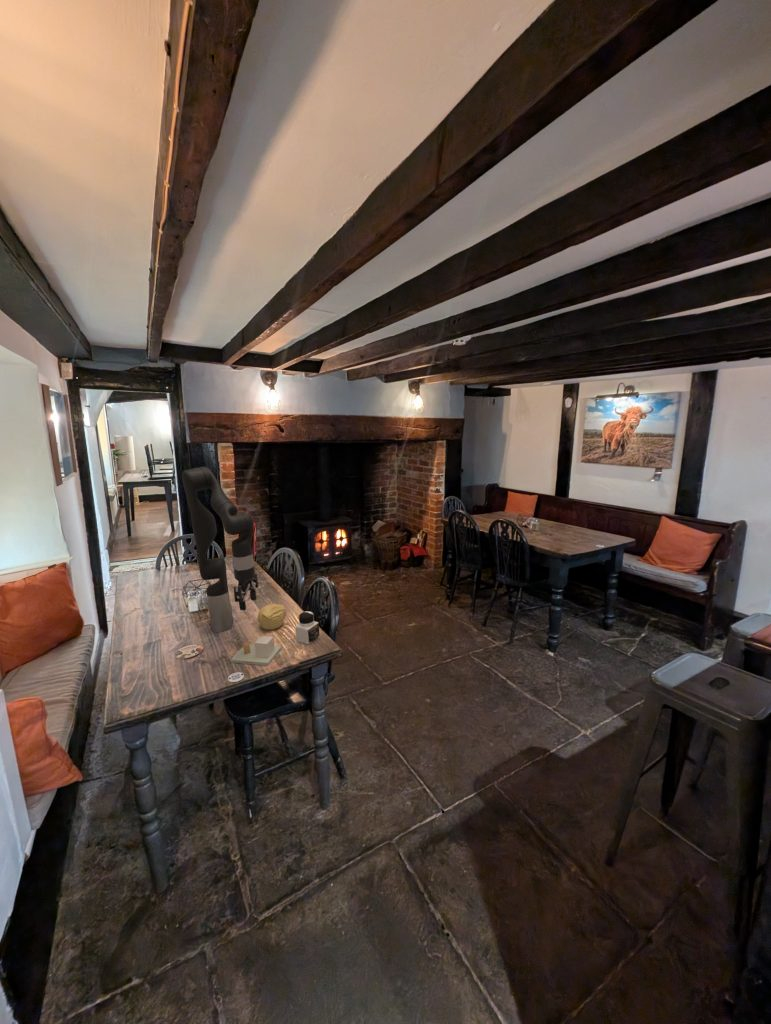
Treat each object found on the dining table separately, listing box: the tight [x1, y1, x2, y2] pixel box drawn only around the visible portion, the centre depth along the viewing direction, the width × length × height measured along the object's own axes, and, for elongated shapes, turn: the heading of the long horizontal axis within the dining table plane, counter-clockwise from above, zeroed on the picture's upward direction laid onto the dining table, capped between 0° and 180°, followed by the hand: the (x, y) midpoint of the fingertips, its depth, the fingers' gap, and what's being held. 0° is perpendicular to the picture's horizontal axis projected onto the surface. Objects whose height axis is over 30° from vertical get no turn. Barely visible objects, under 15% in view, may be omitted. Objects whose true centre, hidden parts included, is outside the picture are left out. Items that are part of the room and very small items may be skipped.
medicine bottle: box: [294, 611, 320, 645], centre depth 177 cm, size 7×7×12 cm
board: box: [229, 641, 283, 667], centre depth 166 cm, size 12×16×5 cm
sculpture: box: [257, 602, 287, 631], centre depth 190 cm, size 12×12×11 cm
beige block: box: [254, 635, 276, 658], centre depth 165 cm, size 5×5×6 cm
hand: (248, 604), depth 162 cm, fingers open, 8 cm apart
